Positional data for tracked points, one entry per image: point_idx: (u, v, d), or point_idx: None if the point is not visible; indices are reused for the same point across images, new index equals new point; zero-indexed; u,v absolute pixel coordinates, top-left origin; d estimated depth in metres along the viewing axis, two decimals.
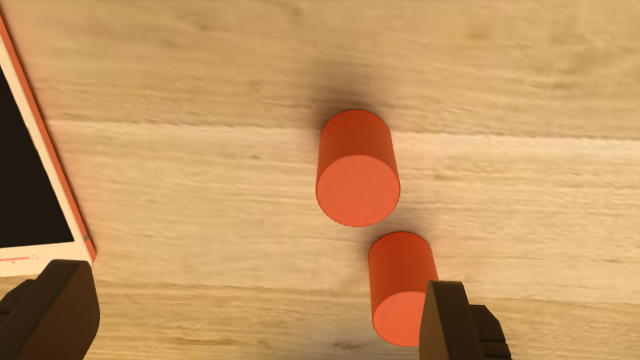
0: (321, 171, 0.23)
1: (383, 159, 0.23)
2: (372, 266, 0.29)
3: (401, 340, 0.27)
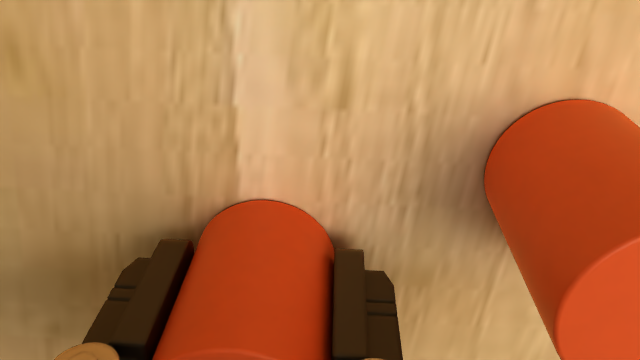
0: None
1: None
2: None
3: None
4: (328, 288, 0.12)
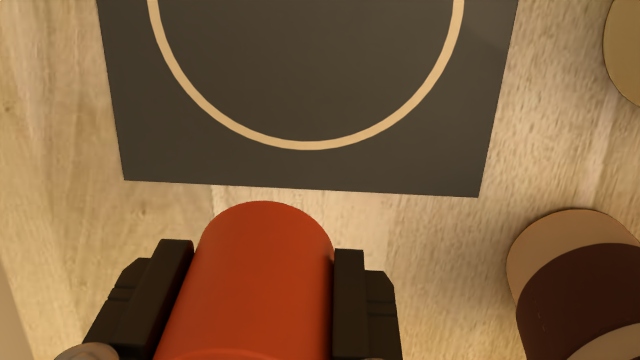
0: None
1: None
2: None
3: None
4: (328, 288, 0.12)
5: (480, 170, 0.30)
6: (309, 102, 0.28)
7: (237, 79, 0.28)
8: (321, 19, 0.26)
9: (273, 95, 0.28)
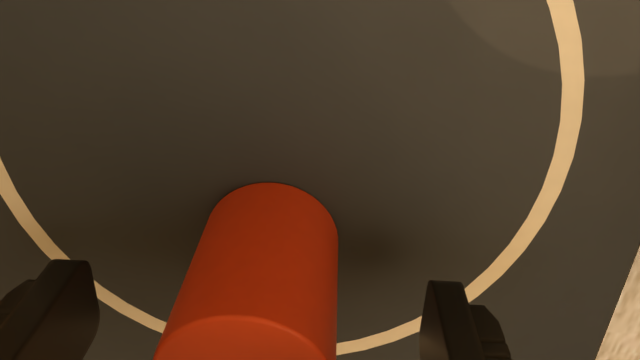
0: None
1: (160, 341, 0.10)
2: None
3: None
4: (332, 265, 0.13)
5: None
6: None
7: (153, 255, 0.15)
8: (303, 162, 0.14)
9: None
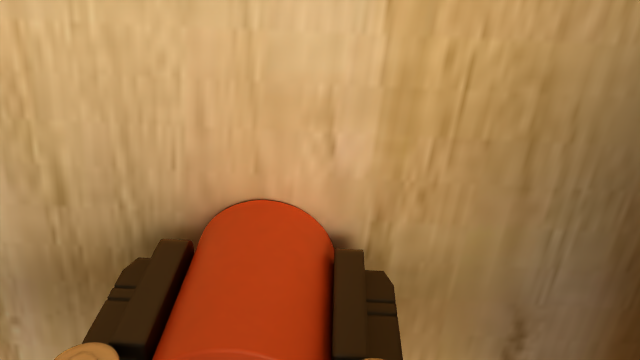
0: None
1: None
2: None
3: None
4: None
5: None
6: None
7: None
8: None
9: None
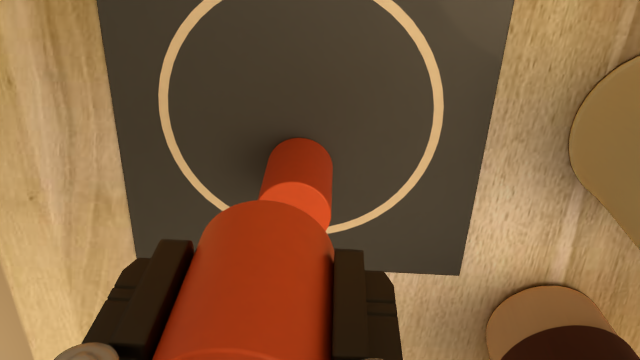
0: None
1: (260, 194, 0.26)
2: None
3: None
4: (329, 173, 0.28)
5: (460, 252, 0.33)
6: None
7: (240, 176, 0.31)
8: (315, 128, 0.29)
9: None
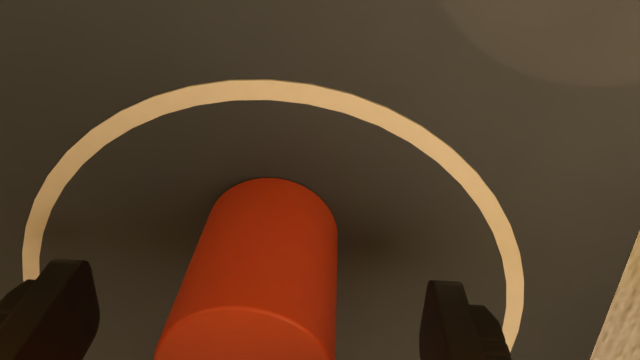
0: None
1: None
2: None
3: None
4: None
5: None
6: None
7: None
8: None
9: None
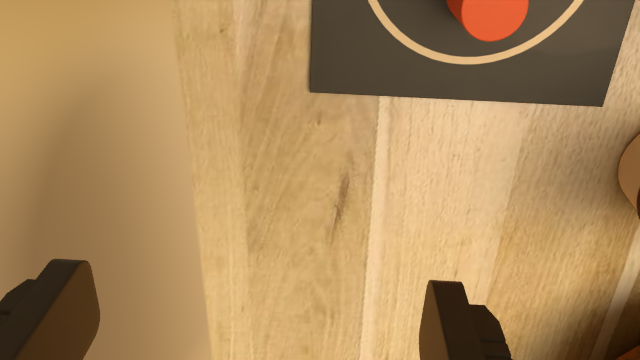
0: (473, 36, 0.30)
1: None
2: None
3: None
4: None
5: (607, 82, 0.36)
6: None
7: (419, 2, 0.34)
8: None
9: (446, 16, 0.35)
